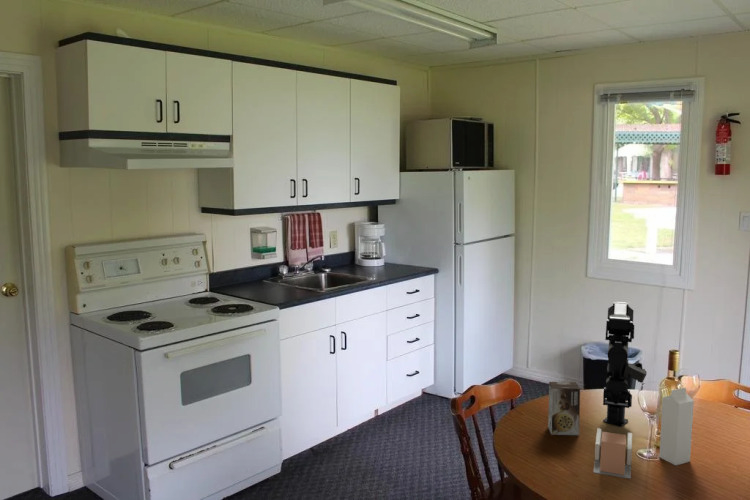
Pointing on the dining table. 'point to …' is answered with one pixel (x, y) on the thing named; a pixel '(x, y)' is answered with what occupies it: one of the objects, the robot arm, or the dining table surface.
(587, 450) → the dining table surface
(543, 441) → the dining table surface
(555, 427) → the coffee box
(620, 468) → the block
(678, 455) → the milk
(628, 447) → the chute
